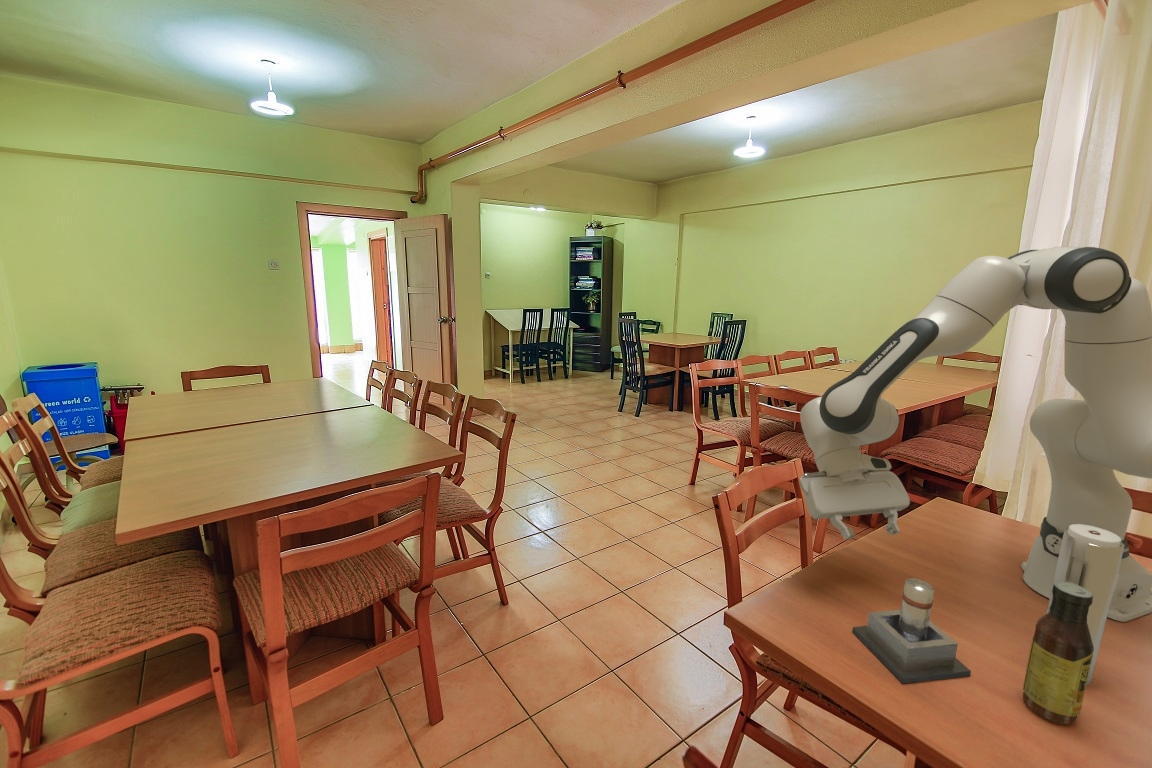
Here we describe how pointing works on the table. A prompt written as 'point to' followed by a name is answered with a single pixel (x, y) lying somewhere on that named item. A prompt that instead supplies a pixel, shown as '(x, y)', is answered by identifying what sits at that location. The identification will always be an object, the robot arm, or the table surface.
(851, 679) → the table surface
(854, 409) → the robot arm
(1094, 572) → the silver piece
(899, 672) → the collar
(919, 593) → the cylinder
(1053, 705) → the sauce bottle
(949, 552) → the table surface
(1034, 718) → the table surface
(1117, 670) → the table surface
